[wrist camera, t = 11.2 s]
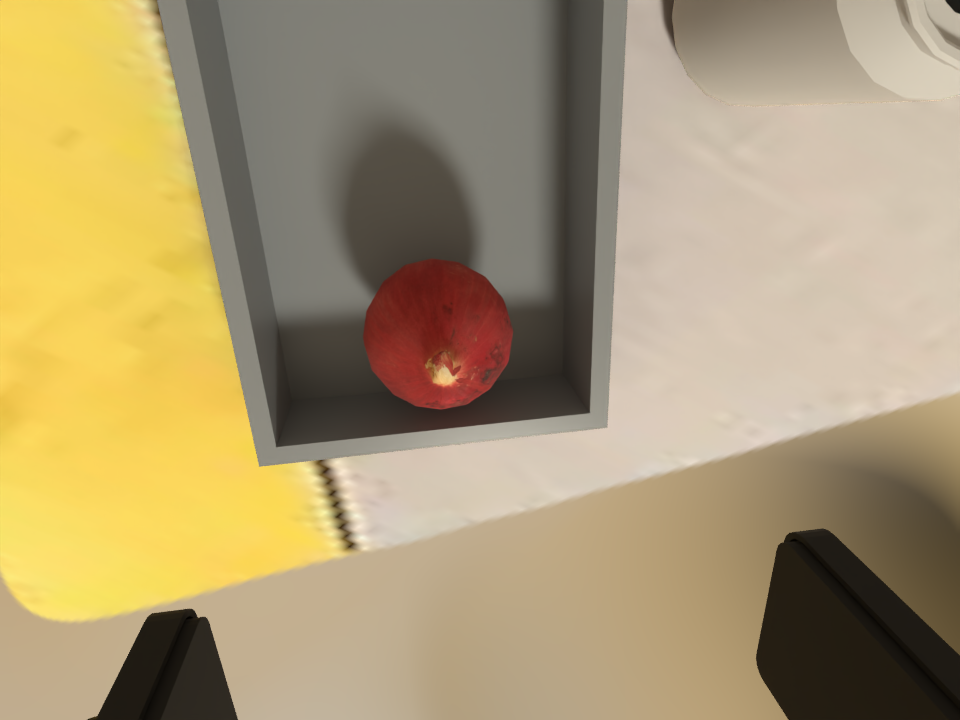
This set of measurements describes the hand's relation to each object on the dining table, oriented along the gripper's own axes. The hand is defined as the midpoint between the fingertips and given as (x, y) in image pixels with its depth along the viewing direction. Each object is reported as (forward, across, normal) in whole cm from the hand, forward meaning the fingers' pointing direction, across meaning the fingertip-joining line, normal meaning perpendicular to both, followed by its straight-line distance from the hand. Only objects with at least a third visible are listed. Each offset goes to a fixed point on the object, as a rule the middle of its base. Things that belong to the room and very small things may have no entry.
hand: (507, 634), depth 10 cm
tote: (+19, +1, -5) cm, 20 cm away
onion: (+19, 0, 0) cm, 19 cm away
